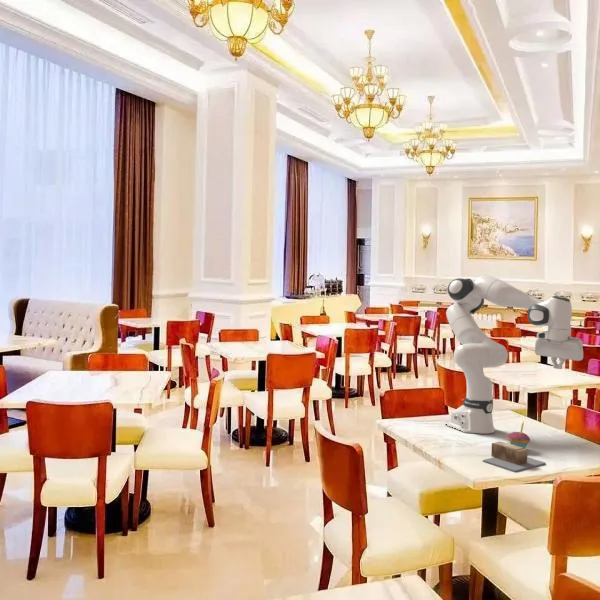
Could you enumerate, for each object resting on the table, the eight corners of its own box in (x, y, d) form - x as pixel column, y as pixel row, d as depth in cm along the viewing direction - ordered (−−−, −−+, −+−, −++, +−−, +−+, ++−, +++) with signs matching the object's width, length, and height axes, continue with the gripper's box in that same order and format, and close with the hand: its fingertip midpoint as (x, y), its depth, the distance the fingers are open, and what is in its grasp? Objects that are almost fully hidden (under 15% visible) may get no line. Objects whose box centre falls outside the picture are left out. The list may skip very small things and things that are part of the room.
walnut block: (491, 442, 230) (519, 450, 220) (500, 440, 232) (527, 448, 223) (491, 456, 230) (518, 465, 220) (499, 454, 233) (527, 463, 223)
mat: (482, 461, 225) (482, 459, 225) (513, 454, 235) (513, 452, 235) (514, 472, 214) (514, 470, 214) (545, 464, 224) (545, 462, 224)
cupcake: (534, 451, 240) (535, 421, 240) (519, 454, 236) (520, 423, 235) (516, 445, 248) (517, 416, 247) (502, 448, 243) (503, 418, 243)
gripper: (587, 337, 245) (585, 371, 246) (542, 333, 262) (540, 364, 262) (578, 338, 241) (576, 372, 242) (533, 333, 258) (531, 365, 259)
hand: (557, 368), depth 252 cm, fingers closed
